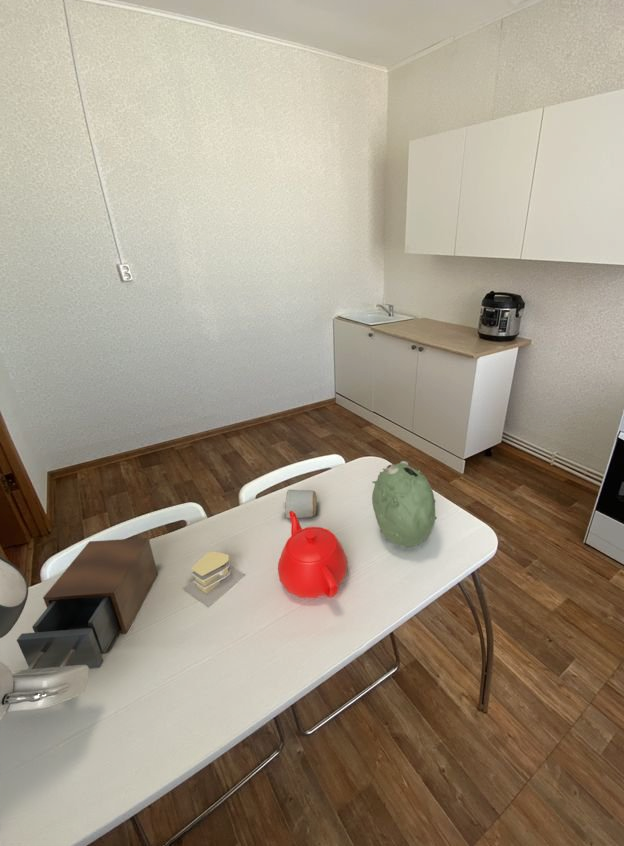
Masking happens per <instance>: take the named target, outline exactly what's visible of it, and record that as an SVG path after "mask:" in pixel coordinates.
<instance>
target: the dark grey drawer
mask: <svg viewBox="0 0 624 846" xmlns="http://www.w3.org/2000/svg"><path fill="white" fill-rule="evenodd" d="M31 627H32V630H33V631H34V632H24V633H21V634H20V635H19V636H18V638H17V639H16V642H17V644H18V646H19V648H20V651H21V653H22V655H23V658H24V660H25V663H26V664H27V666H28V668H26V670H28V669H40V668H51V667H63V666H75V665H87V666H88V667H89V669H97V668H101V666H102V664H103V662H104V658H103V656H102V655H104V654H106V653H107V651H108V649H109V647H110V645H111V643H112V642H113V640H114V637H115V636H116V635H117V634H116V633H117V631H118V629H119V627H120V624H119V621H118V617H117V614H116V611H115V608H114V605H113V602H112V598H111V596H101V597H88V598H74V599H60V600H53V601H52V602H51V604H50V605H49V606H48V607H47V606H46V608H45V610H44V611H43V612H42V613H41V614H40V616H39V617H38V618H37V620H36V621H35V622H34V624H33V625H32V626H31Z"/></svg>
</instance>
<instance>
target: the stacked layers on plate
mask: <svg viewBox="0 0 624 846" xmlns="http://www.w3.org/2000/svg"><path fill="white" fill-rule="evenodd" d="M190 570H192V572H191V575H192V576H194V578H193V580H191V581H190V582H189V583H187V584H186V585H185V586H183V587H182V589H183V590H184V591H185V592H186V593H188V594H189V595H190V596H192V597H193V598H195V599H196V600H198V601H199V602H201V603H202V604H203V605H205V606H206V607H207V608H209V607H210V606H211V605H213V604H214V603H215V602H216V601H217V600H219V598H221V597H222V596H223V595H224V594H225V593H226V592H227V591H228V590H230V589H231V588H232V587H233V586H234V585H235V584H237V583H238V582H239V581H240V580H241V579H243V577H245V575H246V574H245V573H243V571H240V570H238V569H237V568H235V567H234V566H232V565H230V558H229V555H228V554H226V553H222V552H218V551H210V552H207V553H206V554H205V555H204V556H202V557H201V558H200V559H199V560H198V561H197V562H196V563H195V564H194V565H193V566H192V567H191V568H190Z"/></svg>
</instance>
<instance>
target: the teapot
mask: <svg viewBox="0 0 624 846" xmlns="http://www.w3.org/2000/svg"><path fill="white" fill-rule="evenodd" d="M289 514H290V518H289V519H290V524H291V526H290V527H291V528H290V530H291V531H290V536H289V538H288V539H287V540H286V543H285V544H284V547H283V548H282V551H281V553H280V557H279V560H278V563H277V572H278V578H279V582H280V583H281V585H282V586H283V588H284V589H285V590H286V592H288V593H290V594H292V595H294V596H295V597H298V598H300V599H301V598H302V599H316V598H320V597H322V596H326V597H327V598H331V599H332V598H334V597H336V596H337V594H338V593H339V586H340V585H341V583H342V582H343V580H344V578H345V577H346V574H347V570H348V569H347V568H348V558H347V555H346V552H345V550H344V548H343V546H342V544H341V542H340V540H339V539H338V538H337V536H336V535H335V534H334V533H333V532H332V531H331V530H330V529H327V528H324V527H321V526H308V527H304V528H302V526H301V523H300V521H299V519H298V518H297V516H296V514H295V513H294V512H293V511H290V512H289Z"/></svg>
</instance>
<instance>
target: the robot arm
mask: <svg viewBox="0 0 624 846" xmlns="http://www.w3.org/2000/svg"><path fill="white" fill-rule="evenodd" d="M28 596H29V584H28V581H27V579H26V577H25V575H24V574H23V572H22V571H21V570H20V568H18V566H16V565H14V563H12V562H10V561H9V560H7V559H6V558H5V557H3V556H1V555H0V639H2V638H4V637H5V636H7V635H8V634H9V633H10V631H11V630H12V629H13V628H14V627H15V625H16V624H17V623H18V620H19V619H20V617H21V615H22V613H23V611H24V608H25V606H26V604H27V602H28V601H27V600H28V598H29V597H28ZM27 669H28V668H27ZM27 669H18V670H17V669H16V670H10V668H9V667H8V666H7V665H6V664H5V663H4V662H2V661H0V721H1V720H2V719H3V717H4V715H5V714H6V713H8V712H10V713H11V712H20V711H32V710H39V709H45V708H48V707H53V706H56V705H59V704H61V703H64V702H67V701H69V700H71V699H74V698H76V697H78V696H80V695H82V694H84V692H85V691H86V688H87V684H88V679H89V673H90V668H89V667H88V666H87V665H75V666H63V667H51V668H40V669H28V670H27Z"/></svg>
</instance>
